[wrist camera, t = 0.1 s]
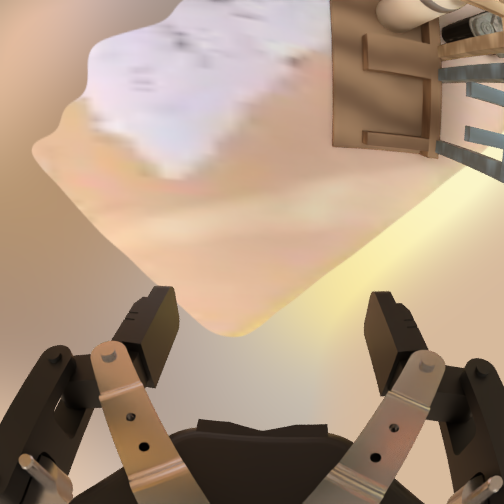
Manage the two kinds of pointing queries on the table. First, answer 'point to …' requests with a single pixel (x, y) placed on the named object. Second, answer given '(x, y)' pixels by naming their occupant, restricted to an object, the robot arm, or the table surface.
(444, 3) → the white cylinder
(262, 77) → the table surface
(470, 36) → the camera
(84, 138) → the table surface
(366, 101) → the wooden rack
